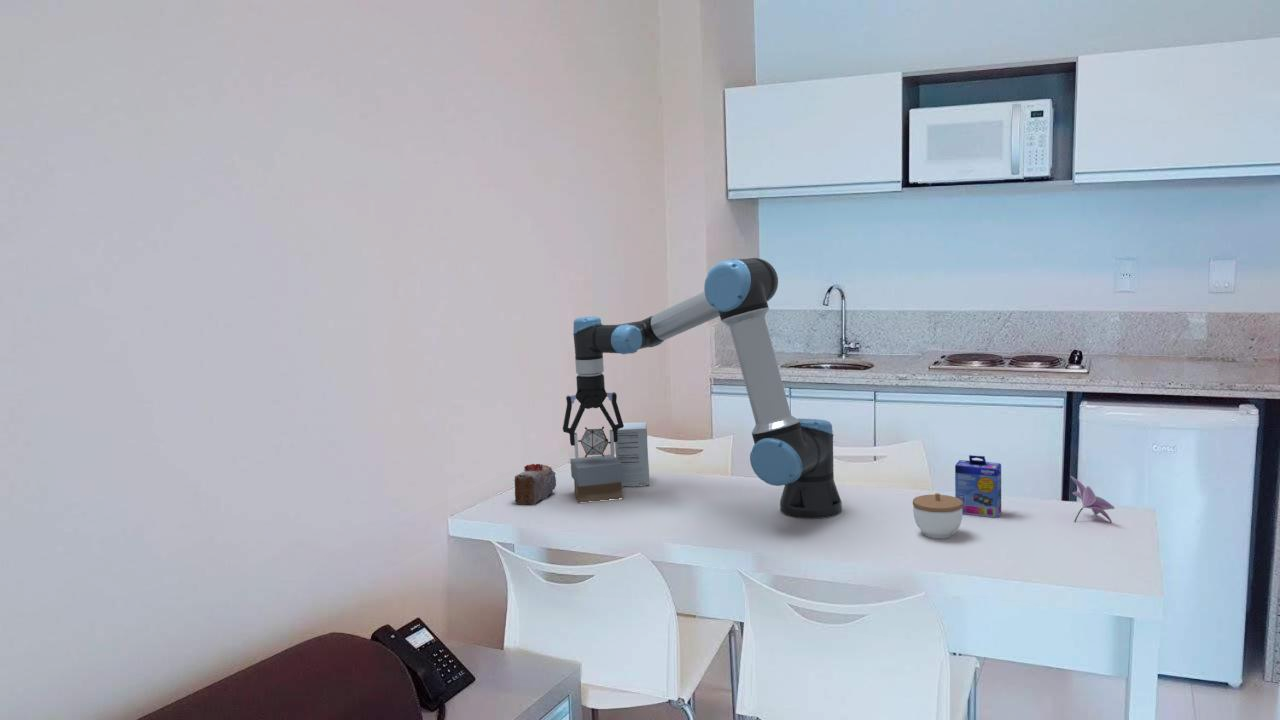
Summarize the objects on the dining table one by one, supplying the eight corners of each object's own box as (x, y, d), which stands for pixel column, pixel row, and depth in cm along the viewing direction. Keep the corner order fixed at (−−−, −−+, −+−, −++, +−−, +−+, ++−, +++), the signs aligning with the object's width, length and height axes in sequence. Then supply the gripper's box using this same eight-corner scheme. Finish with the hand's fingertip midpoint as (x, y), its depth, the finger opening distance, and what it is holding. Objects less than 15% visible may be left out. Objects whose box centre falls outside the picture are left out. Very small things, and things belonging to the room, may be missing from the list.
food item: (532, 491, 259) (530, 457, 258) (558, 492, 257) (556, 458, 255) (512, 505, 246) (510, 469, 245) (539, 506, 244) (537, 470, 242)
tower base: (622, 500, 246) (621, 482, 245) (578, 504, 244) (577, 486, 244) (617, 489, 258) (616, 472, 257) (574, 493, 256) (573, 475, 255)
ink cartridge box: (954, 514, 219) (953, 455, 217) (959, 507, 224) (958, 450, 222) (997, 518, 214) (997, 458, 212) (1001, 512, 219) (1001, 453, 217)
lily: (1113, 535, 201) (1130, 496, 202) (1060, 513, 204) (1076, 473, 205) (1099, 535, 213) (1114, 498, 213) (1048, 514, 216) (1064, 477, 217)
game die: (601, 467, 251) (619, 436, 252) (596, 463, 243) (615, 431, 244) (574, 451, 253) (592, 420, 254) (568, 447, 245) (587, 415, 246)
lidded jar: (909, 527, 211) (908, 487, 210) (957, 526, 209) (956, 486, 208) (918, 542, 200) (917, 500, 199) (968, 541, 199) (968, 500, 198)
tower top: (622, 481, 246) (621, 463, 246) (579, 486, 243) (578, 468, 243) (613, 471, 258) (612, 454, 257) (571, 476, 255) (570, 458, 254)
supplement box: (618, 479, 268) (615, 422, 266) (649, 477, 268) (646, 421, 265) (617, 487, 258) (613, 429, 256) (649, 486, 258) (646, 427, 256)
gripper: (628, 369, 251) (632, 449, 254) (549, 375, 249) (554, 455, 251) (631, 373, 244) (636, 455, 247) (550, 378, 241) (555, 461, 244)
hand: (594, 455), depth 249 cm, fingers closed on game die, 9 cm apart
